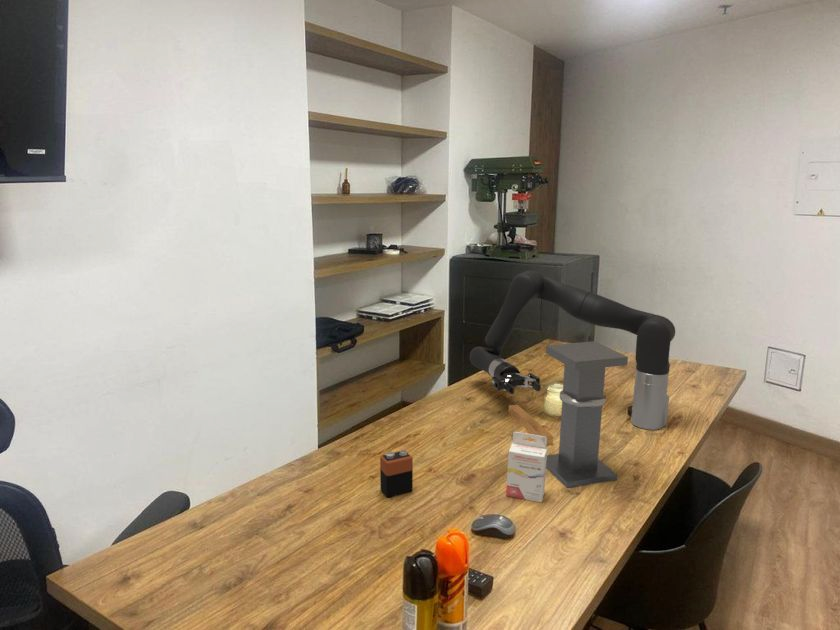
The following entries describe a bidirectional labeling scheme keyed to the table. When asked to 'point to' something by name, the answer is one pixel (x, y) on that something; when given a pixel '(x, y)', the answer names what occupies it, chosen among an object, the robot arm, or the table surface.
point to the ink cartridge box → (527, 467)
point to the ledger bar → (529, 423)
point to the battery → (396, 473)
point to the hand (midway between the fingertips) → (526, 389)
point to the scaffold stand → (582, 412)
